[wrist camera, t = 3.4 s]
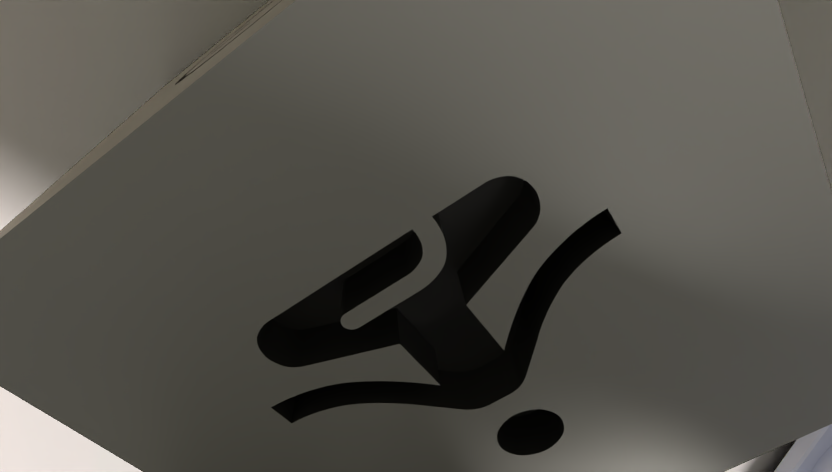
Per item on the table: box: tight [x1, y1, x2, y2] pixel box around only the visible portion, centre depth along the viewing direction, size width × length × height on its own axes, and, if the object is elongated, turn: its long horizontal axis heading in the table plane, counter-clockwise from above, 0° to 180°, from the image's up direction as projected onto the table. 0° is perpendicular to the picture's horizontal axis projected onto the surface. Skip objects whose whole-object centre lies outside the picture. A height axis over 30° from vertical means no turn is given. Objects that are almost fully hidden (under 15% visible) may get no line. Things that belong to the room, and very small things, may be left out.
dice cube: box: [0, 0, 832, 472], centre depth 6 cm, size 5×5×5 cm
